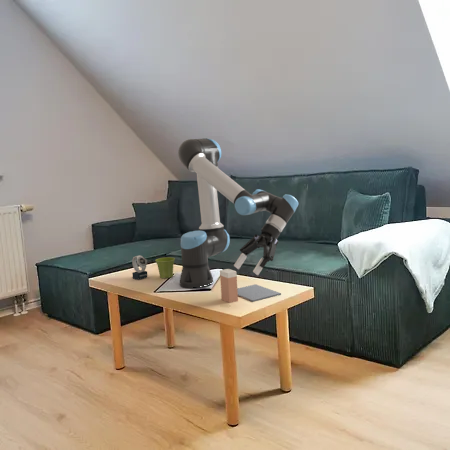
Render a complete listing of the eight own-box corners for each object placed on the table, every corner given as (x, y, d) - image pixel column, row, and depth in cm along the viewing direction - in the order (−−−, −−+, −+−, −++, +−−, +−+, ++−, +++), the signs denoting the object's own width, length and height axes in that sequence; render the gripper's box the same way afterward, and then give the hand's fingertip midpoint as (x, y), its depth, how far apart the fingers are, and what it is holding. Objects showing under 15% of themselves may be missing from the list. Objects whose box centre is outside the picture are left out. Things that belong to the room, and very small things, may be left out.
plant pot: (152, 277, 243) (151, 260, 241) (168, 273, 249) (166, 256, 248) (164, 280, 236) (163, 262, 235) (180, 276, 243) (178, 258, 241)
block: (221, 299, 202) (219, 270, 200) (230, 297, 204) (228, 268, 202) (229, 302, 196) (227, 273, 195) (238, 300, 199) (236, 271, 197)
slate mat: (228, 291, 211) (228, 290, 211) (255, 285, 218) (255, 284, 218) (252, 301, 196) (252, 300, 196) (281, 294, 203) (281, 293, 203)
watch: (141, 280, 238) (139, 258, 237) (130, 278, 244) (128, 256, 242) (150, 277, 242) (148, 255, 241) (139, 275, 248) (137, 254, 246)
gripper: (298, 236, 198) (270, 281, 192) (260, 230, 219) (234, 270, 213) (287, 225, 194) (257, 270, 189) (250, 219, 215) (222, 260, 210)
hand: (245, 270), depth 201 cm, fingers open, 13 cm apart
